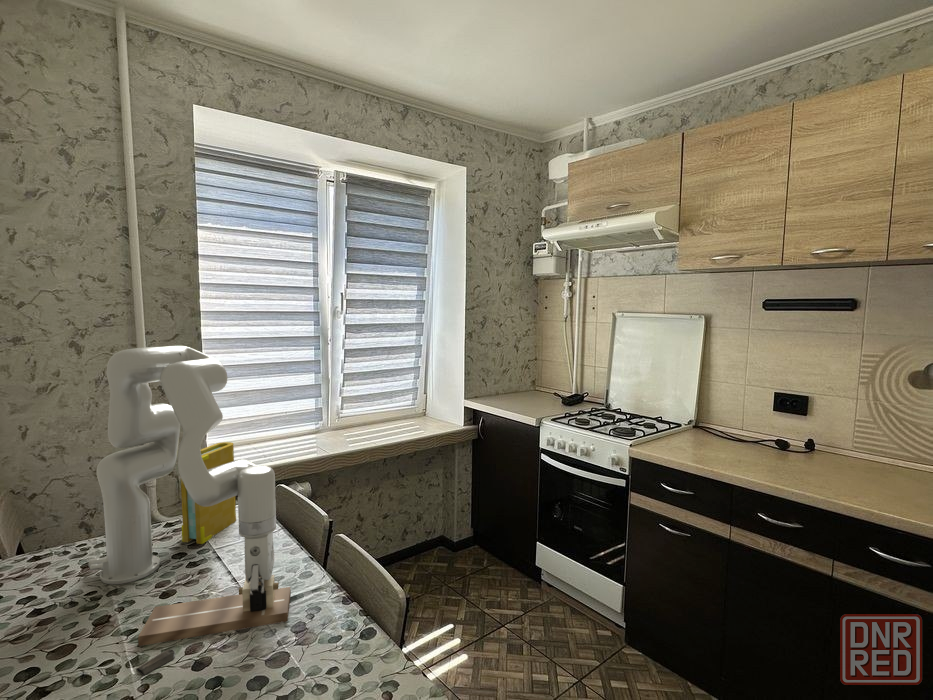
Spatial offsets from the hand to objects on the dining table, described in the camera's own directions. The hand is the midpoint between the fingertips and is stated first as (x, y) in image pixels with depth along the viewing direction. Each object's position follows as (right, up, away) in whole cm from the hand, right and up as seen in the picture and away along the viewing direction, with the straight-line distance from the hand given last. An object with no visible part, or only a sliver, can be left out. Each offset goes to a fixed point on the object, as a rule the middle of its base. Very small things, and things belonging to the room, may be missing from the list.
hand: (260, 602), depth 106 cm
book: (-31, +1, +40) cm, 51 cm away
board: (-8, -2, -2) cm, 8 cm away
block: (-13, -4, -15) cm, 20 cm away
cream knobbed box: (0, 0, 0) cm, 0 cm away
